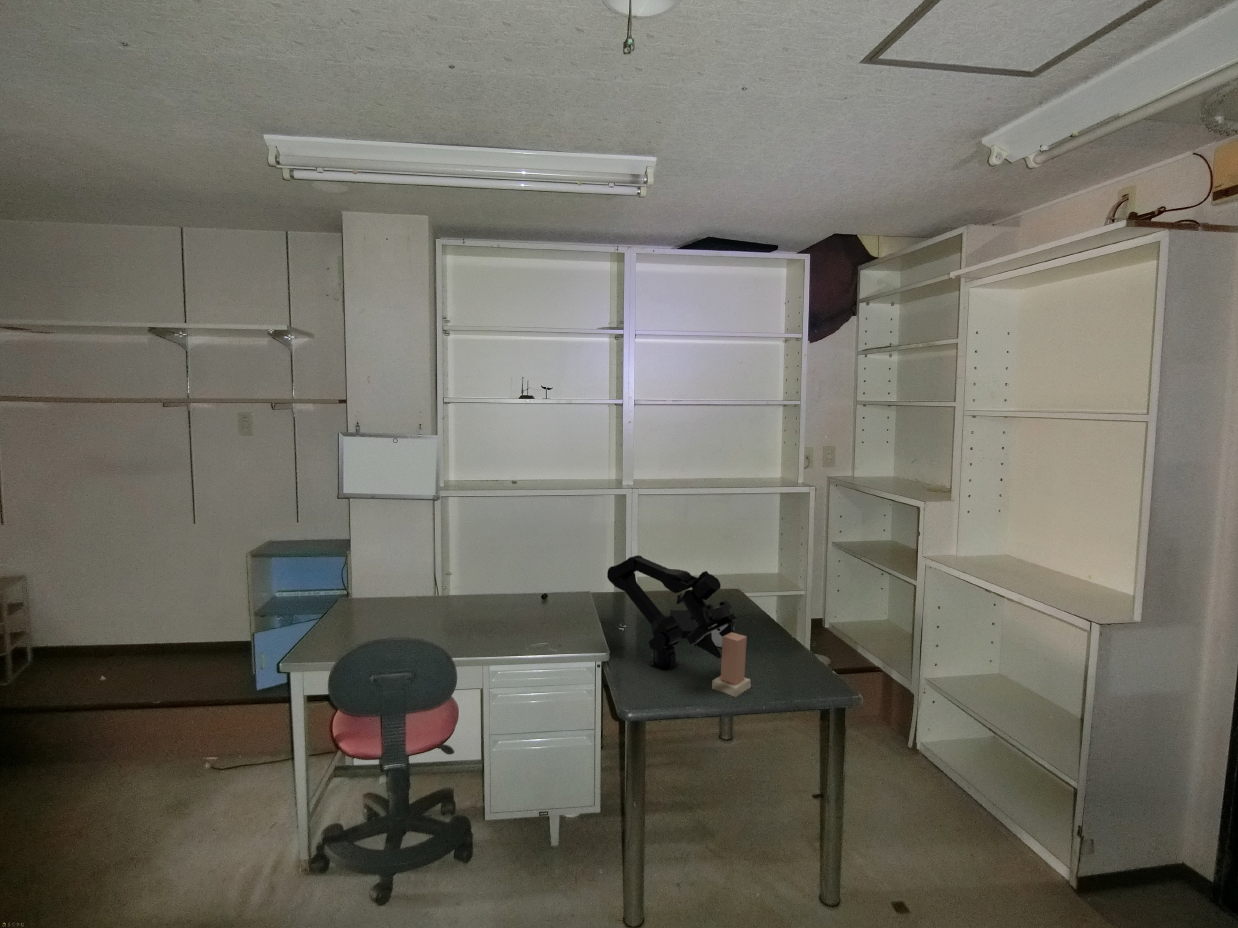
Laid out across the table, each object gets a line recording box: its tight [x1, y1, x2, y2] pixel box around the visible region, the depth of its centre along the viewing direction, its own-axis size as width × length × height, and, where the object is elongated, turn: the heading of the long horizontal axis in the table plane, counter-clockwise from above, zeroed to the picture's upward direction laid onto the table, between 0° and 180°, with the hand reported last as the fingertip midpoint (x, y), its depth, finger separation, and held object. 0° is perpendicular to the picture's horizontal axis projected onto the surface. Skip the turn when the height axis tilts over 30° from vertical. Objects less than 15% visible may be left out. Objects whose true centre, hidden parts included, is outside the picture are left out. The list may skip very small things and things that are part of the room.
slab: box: [711, 675, 752, 698], centre depth 185 cm, size 8×8×3 cm
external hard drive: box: [669, 609, 699, 639], centre depth 236 cm, size 14×23×3 cm, turn 176°
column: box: [720, 632, 748, 685], centre depth 184 cm, size 5×5×13 cm
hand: (729, 652), depth 184 cm, fingers open, 9 cm apart
